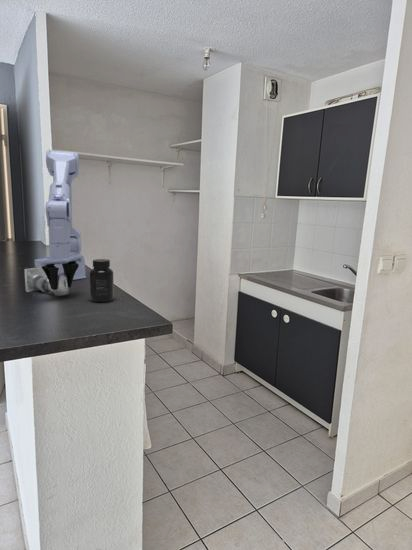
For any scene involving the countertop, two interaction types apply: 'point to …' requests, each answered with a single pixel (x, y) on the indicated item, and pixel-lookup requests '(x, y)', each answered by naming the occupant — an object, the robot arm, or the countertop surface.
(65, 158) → the robot arm
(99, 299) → the supplement bottle
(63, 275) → the elbow
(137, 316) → the countertop surface
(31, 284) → the duct stub
